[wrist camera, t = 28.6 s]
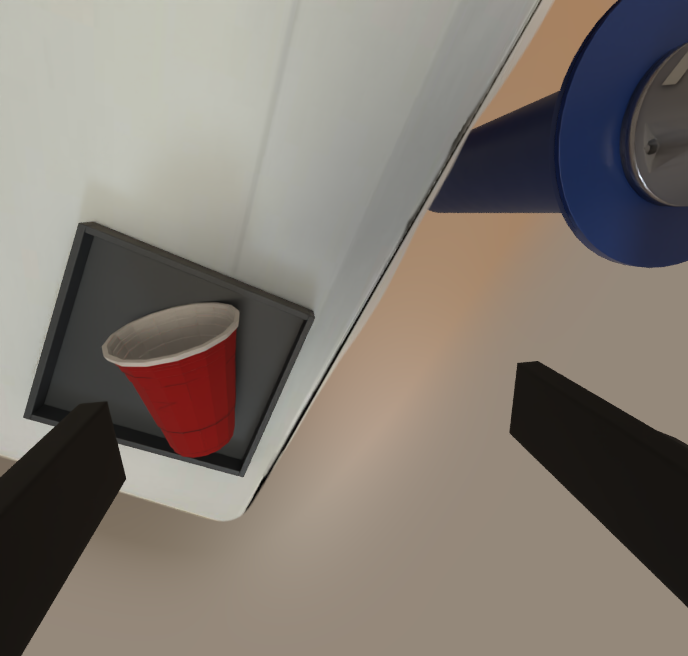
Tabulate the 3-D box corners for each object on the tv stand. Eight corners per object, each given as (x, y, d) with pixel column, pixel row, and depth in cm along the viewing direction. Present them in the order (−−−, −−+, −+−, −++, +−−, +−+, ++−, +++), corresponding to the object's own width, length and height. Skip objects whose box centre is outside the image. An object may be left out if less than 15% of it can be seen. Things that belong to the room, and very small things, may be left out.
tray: (313, 311, 39) (315, 317, 36) (245, 462, 43) (243, 477, 40) (93, 221, 33) (78, 222, 31) (39, 404, 37) (22, 417, 35)
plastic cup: (142, 420, 39) (107, 313, 34) (248, 393, 43) (230, 293, 37) (134, 500, 30) (85, 369, 25) (269, 456, 33) (250, 335, 28)
